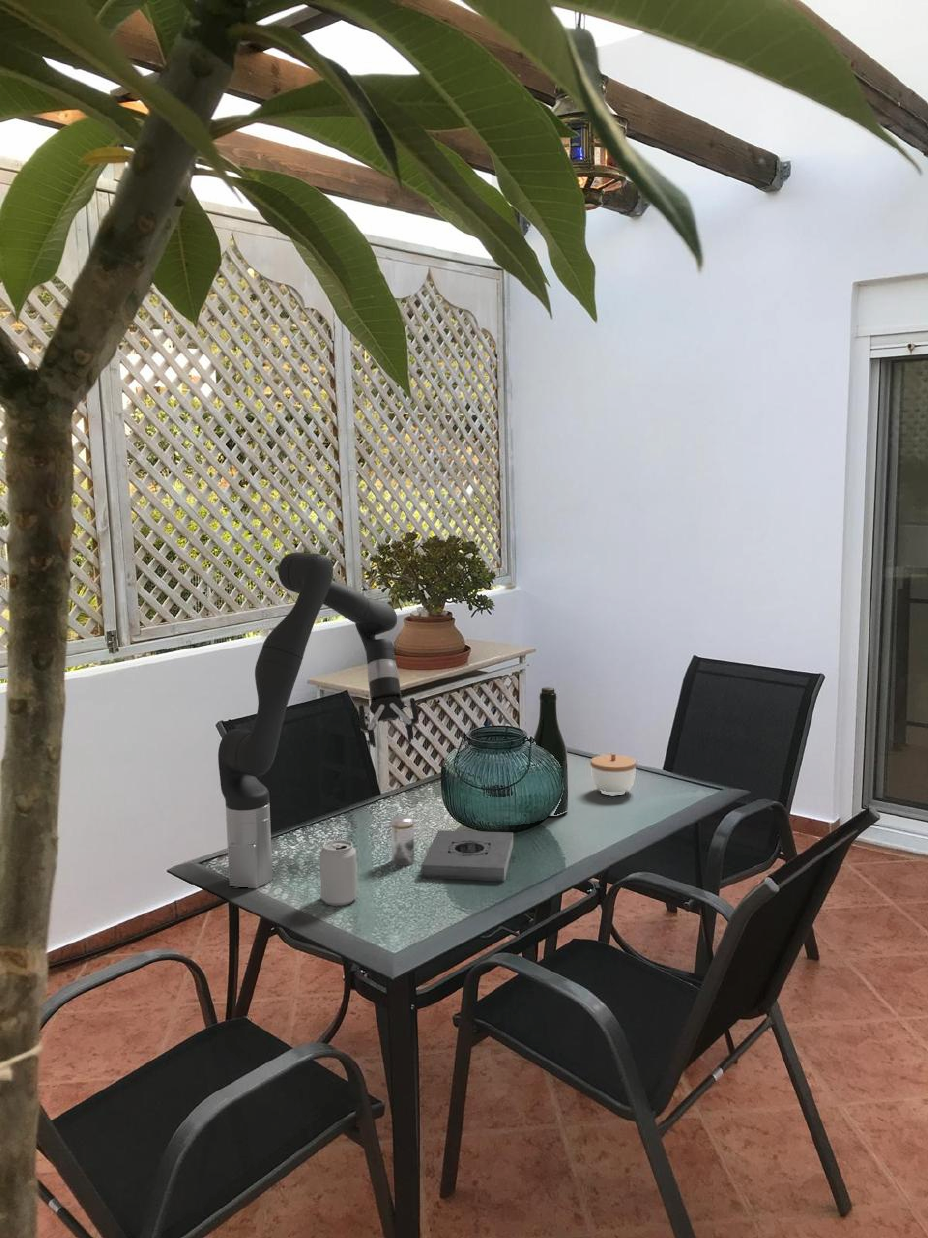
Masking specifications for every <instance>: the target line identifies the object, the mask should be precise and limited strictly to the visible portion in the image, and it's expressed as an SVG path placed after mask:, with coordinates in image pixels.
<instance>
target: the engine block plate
mask: <svg viewBox="0 0 928 1238" xmlns="http://www.w3.org/2000/svg"><path fill="white" fill-rule="evenodd" d="M513 847H514V832H509V831H508V832H505V831H503V832H502V831H475V830H473V831H472V830H450V829H449V830H448V829H447V830H446V829H445V830H444V829H443V830H442V829H438V831H437V832H436V834H435V837H434V838H433V841H432V843H431V845H430V847H429V849H428V851H427V853H426V855H425V857H424V860H423V862H422V863H421V878H422V879H437V880H438V879H439V880H461V881H462V880H463V881H464V880H465V881H486V882H489V881H490V882H505V880H506V875H507V872H508V868H509V863H510V861H511V860H510V859H511V856H512V853H513V852H512V851H513Z"/></svg>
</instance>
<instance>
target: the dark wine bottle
mask: <svg viewBox="0 0 928 1238" xmlns="http://www.w3.org/2000/svg"><path fill="white" fill-rule="evenodd" d="M539 693H540V694H539V696H538V697H539V717H538V724H537V726H536V731H535V732H534V736H533V738H532V740H533V739H534V741H535V742H536V745H538V746H540V747H542V748H544V749H545V750H547V751H548V752H549V753H550V754H552V755H553V756H554V758H555V759H556V760H557V761H558V762H559V764H560V766H561V769H562V773H563V778H564V790H563V795H562V797H561V801H560V803H559V805H558V807H557V809H556V811H555V813H554V815H557V814H560V813H563V812H565V811H567V810H568V811H569V804H570V803H569V802H570V801H569V762H568V760H569V759H568V751H567V746H566V744H565V743H566V742H565V740H564V737H563V735H562V733H561V730H560V726H559V724H558V717H557V716H558V714H557V694H556V692H555V688H554V687H549V686H548V687H542V688H541V692H539ZM568 811H567V812H568Z"/></svg>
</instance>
